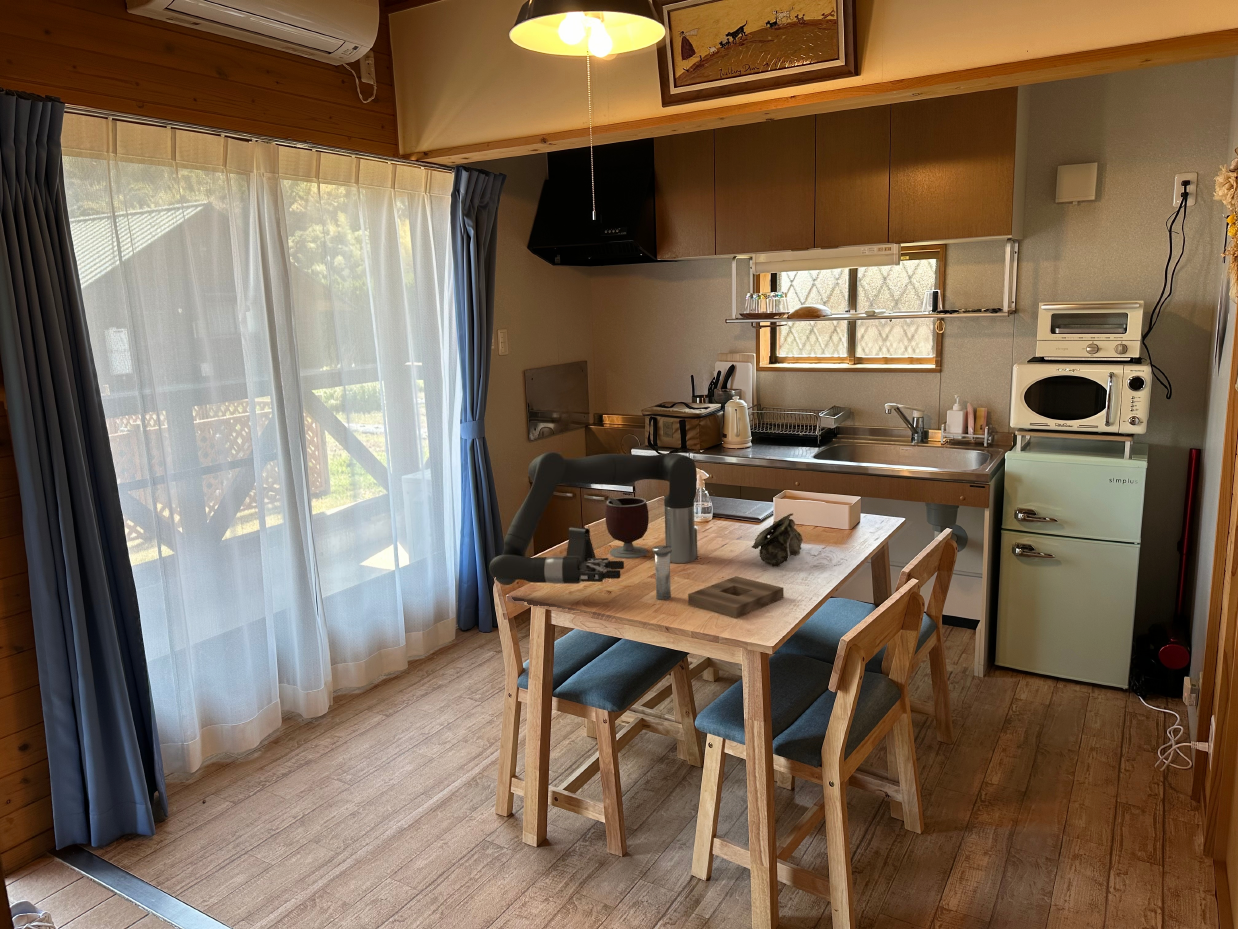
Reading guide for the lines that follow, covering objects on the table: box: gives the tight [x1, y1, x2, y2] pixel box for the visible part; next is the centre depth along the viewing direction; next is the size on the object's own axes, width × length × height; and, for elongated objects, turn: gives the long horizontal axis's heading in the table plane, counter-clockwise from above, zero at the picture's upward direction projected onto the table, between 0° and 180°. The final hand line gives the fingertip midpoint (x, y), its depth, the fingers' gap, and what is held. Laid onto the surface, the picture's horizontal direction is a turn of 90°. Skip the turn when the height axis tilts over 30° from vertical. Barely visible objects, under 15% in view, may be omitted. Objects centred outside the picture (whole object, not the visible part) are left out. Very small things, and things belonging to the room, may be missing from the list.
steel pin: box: [651, 544, 672, 601], centre depth 232 cm, size 5×5×14 cm
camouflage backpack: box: [751, 512, 803, 568], centre depth 264 cm, size 28×13×15 cm
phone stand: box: [565, 526, 597, 563], centre depth 265 cm, size 9×6×12 cm, turn 147°
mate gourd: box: [604, 496, 650, 559], centre depth 275 cm, size 16×14×20 cm
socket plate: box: [687, 575, 785, 620], centre depth 227 cm, size 20×16×3 cm
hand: (622, 569), depth 233 cm, fingers open, 8 cm apart
